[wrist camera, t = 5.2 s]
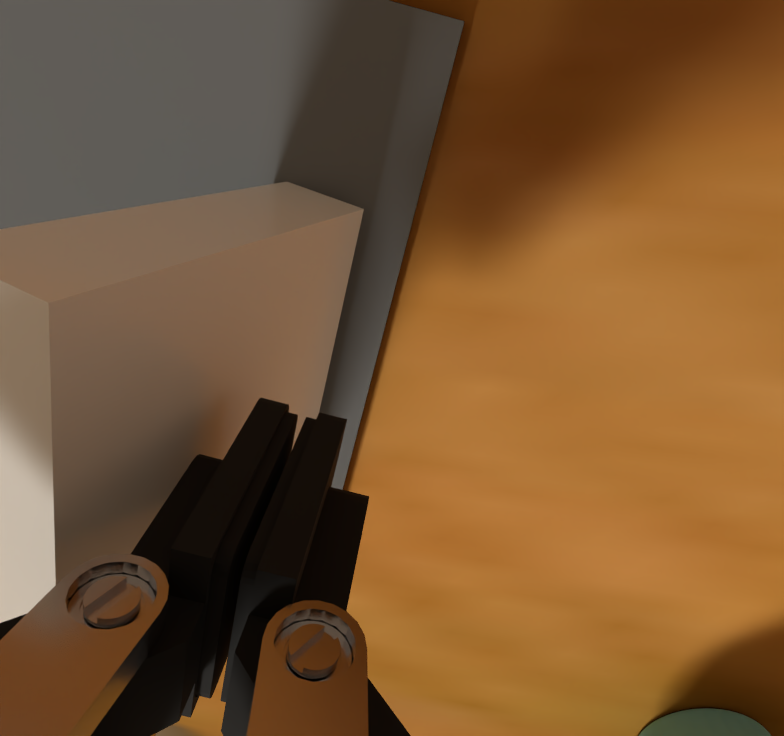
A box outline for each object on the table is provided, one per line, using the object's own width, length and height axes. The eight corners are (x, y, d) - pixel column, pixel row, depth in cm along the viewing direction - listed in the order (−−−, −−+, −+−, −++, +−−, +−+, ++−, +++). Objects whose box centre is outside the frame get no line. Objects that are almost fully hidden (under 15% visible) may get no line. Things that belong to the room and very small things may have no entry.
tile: (276, 177, 14) (-97, 234, 7) (363, 208, 13) (48, 302, 7) (234, 453, 18) (-38, 662, 11) (302, 486, 17) (59, 731, 10)
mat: (-208, -165, 12) (-229, -172, 12) (464, 22, 13) (464, 21, 12) (-101, 461, 20) (-111, 468, 19) (321, 570, 20) (318, 579, 20)
